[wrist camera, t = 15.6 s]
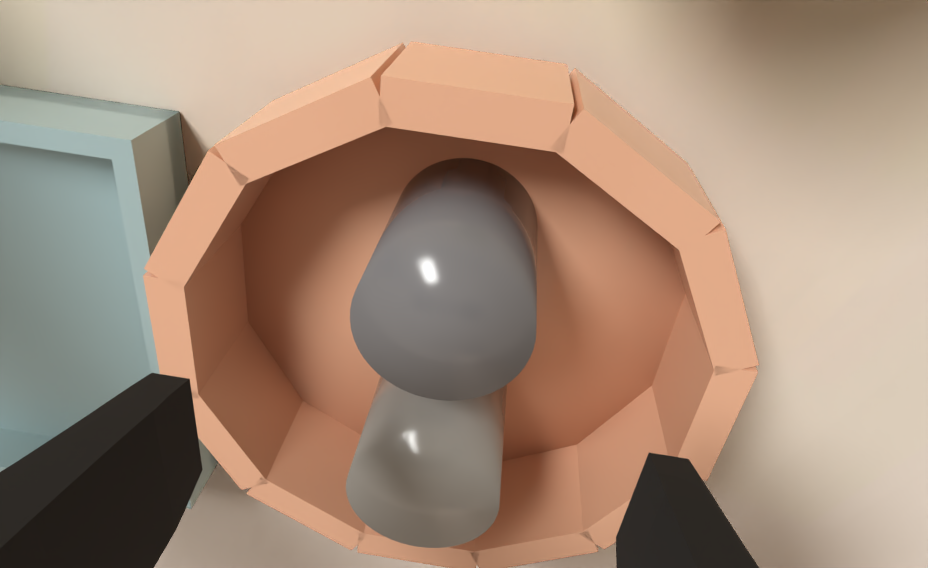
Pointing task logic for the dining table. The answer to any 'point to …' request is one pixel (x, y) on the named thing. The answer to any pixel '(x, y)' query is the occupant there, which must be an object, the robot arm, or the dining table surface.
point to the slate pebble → (428, 467)
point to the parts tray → (79, 257)
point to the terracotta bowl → (558, 295)
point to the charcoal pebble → (452, 284)
